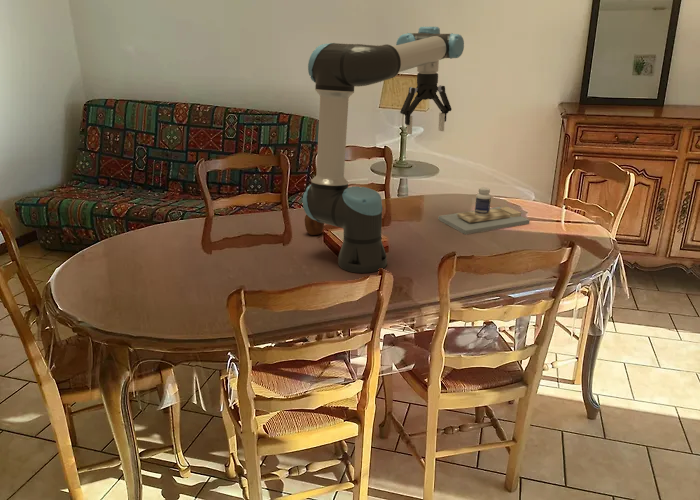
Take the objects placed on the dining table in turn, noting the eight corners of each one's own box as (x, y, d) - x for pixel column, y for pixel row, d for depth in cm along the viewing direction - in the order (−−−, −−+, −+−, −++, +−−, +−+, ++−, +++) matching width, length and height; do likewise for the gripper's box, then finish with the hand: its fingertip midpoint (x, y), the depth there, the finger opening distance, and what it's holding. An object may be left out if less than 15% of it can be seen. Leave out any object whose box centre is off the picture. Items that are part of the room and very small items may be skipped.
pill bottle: (490, 216, 217) (493, 190, 213) (475, 216, 217) (478, 190, 213) (487, 212, 222) (490, 186, 218) (473, 211, 222) (475, 186, 218)
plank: (469, 222, 213) (469, 219, 213) (457, 216, 220) (457, 213, 220) (510, 217, 220) (510, 214, 220) (496, 211, 227) (497, 208, 226)
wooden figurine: (325, 231, 212) (324, 191, 207) (323, 236, 207) (322, 195, 201) (306, 230, 213) (305, 190, 207) (304, 236, 207) (302, 195, 202)
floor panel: (465, 234, 208) (465, 227, 207) (438, 219, 223) (438, 212, 222) (529, 223, 218) (529, 216, 217) (499, 210, 234) (499, 203, 233)
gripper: (401, 74, 203) (400, 136, 211) (463, 71, 212) (459, 131, 220) (391, 73, 209) (390, 133, 217) (451, 70, 218) (448, 128, 226)
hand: (425, 132), depth 218 cm, fingers open, 13 cm apart
